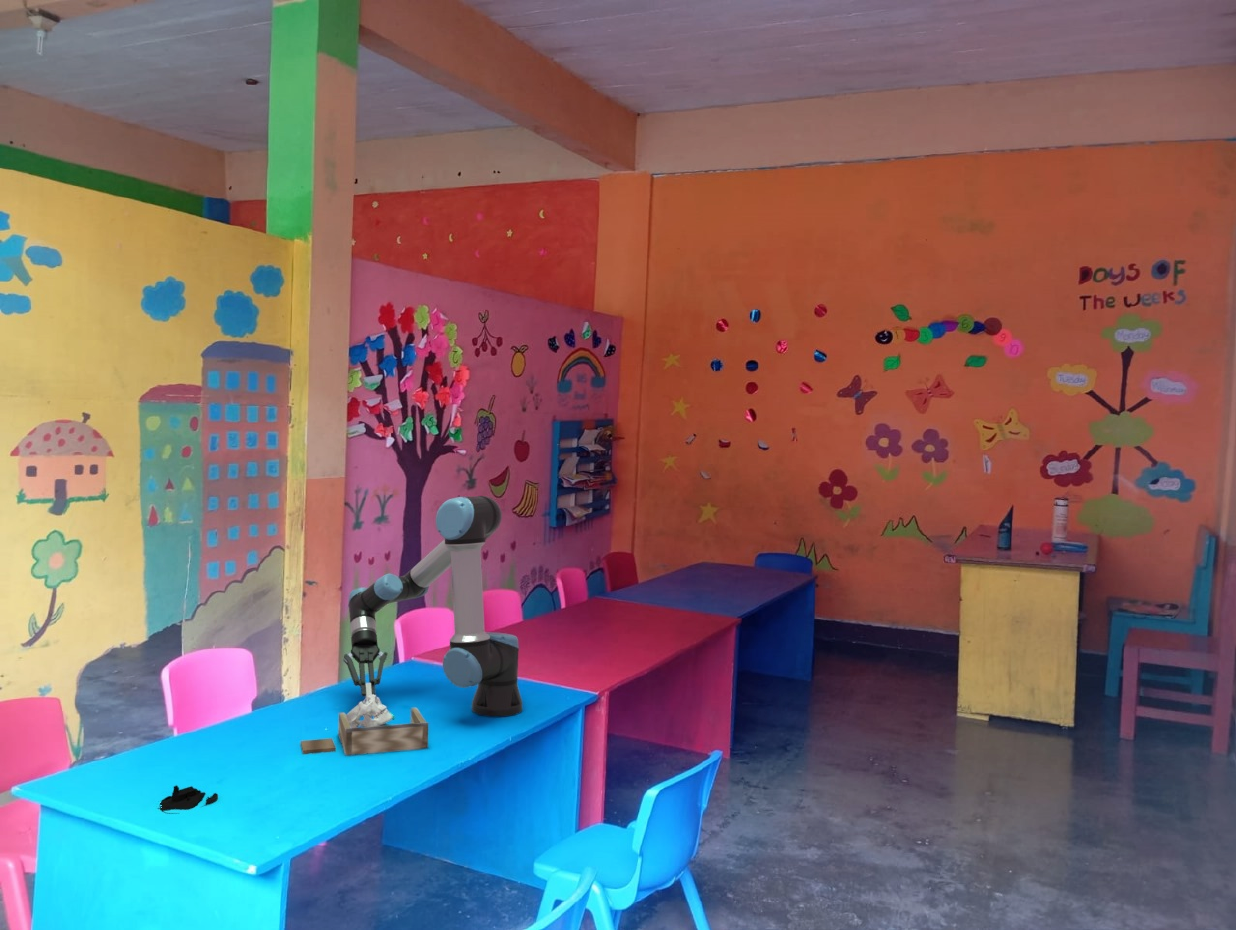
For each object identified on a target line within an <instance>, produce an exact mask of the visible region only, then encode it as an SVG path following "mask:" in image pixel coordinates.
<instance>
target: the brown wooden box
mask: <svg viewBox="0 0 1236 930" xmlns="http://www.w3.org/2000/svg"><path fill="white" fill-rule="evenodd" d="M346 715H347V714H346V713H345V712H338V729H337V730H338V734H337V735H338V737H340V738H339V740H340V744H341V743H342V744H341V747H342V746H343V747H342V749H343V752H344V755H345V756H354V755H355V754H356V755H366V754H367V753H368V754H376V753H389V752H390V753H391V752H399V751H400V752H402V751H413V750H414V751H415V750H423V749H424V750H426V748H427V749H428V748H429V722H428V721H427V722H426V720H425V718H424V717H423V715H422V714H421V712H420V710H419V709H418V708H417V707H411V709H410V723H401V724H400V723H399V724H387V725H386V724H383V725H379V726H371V727H364V726H359V727H357V728H351V727H350V725H349V722H348V720H347V717H346Z"/></svg>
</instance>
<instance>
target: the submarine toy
mask: <svg viewBox="0 0 1236 930" xmlns="http://www.w3.org/2000/svg"><path fill="white" fill-rule="evenodd" d="M206 795H207V794H206V792H202V791H201V790H200V789H197V788H195V787H193V786H192V785H191V786H188V787H184V788H181V789H180V787H179V786H178V785H177V784H175V785H174V786H173V791H172V792H171V795H168V796H166V797H164V798H163V799H162V800H161V803H160V804H159V807H158V808H157V809H158V810H159V809H160V811H161V812H162V813H165V814H169V815H172V814H173V815H174V814H175V815H176V814H179V812H166V811H171V810H173V811H175V810H176V811H177V810H178V811H187V810H188V811H189V810H192V809H195V808H196V807H197V806H198V805H199V804H200V803H201V802H202V801H203V799H204V798H205V796H206ZM218 799H219V794H218V793H217V792H214V793H213V794H212V795H211V796H210V797H209V796H207V798H206V799H205V804H204V805H202V806H201V808H202V807H206V806H208V805H212V804H214V803H216V802H217V801H218ZM160 805H162V806H160ZM161 807H162V808H161Z"/></svg>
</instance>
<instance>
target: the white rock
mask: <svg viewBox="0 0 1236 930" xmlns="http://www.w3.org/2000/svg"><path fill="white" fill-rule="evenodd" d="M367 698H368V700H366V699H364V700H361V701H359V702H358V704H356V706H354V707H353V708H352V709H351V710H350V711H349V712H348V713H347V714H345V715H346V717H347V720H348V722H349V725H350V727H351V728H357V727H371V726H383V725H386V723H388V722H391V721H394V720H395V718H396V715H394V714H393V713H392V712H391V711H389V710H388V709H387V708H388V706H387V705H384V704H382V701H381V699H380V697H378V696H377V694H375V695H374V694H373V695H372V694H370V695H369V696H368V697H367ZM371 706H372V707H371ZM361 717H363V719H362V720H361ZM372 717H373V718H372Z"/></svg>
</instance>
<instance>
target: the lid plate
mask: <svg viewBox="0 0 1236 930" xmlns="http://www.w3.org/2000/svg"><path fill="white" fill-rule="evenodd" d="M300 746H301V751H302V755H309V753H312V754H321V752H323V753H332V752H333V751H335V752H336V751H337V750H336V745H335V741H334V739H333V738H320V739H308V740H300ZM331 751H332V752H331Z"/></svg>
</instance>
